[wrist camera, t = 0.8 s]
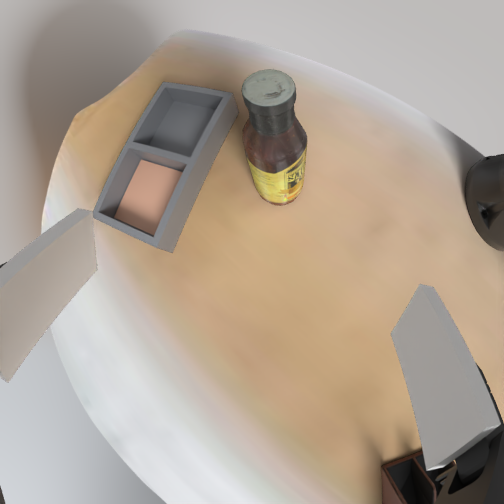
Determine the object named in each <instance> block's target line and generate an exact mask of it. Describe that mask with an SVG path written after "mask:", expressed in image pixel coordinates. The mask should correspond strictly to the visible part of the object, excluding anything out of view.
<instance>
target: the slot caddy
mask: <svg viewBox="0 0 504 504" xmlns="http://www.w3.org/2000/svg"><path fill="white" fill-rule="evenodd" d="M238 113H239V111H238V108H237V105H236V102H235V99H234V95H233V93H229V92H225V91H219V90H214V89H209V88H203V87H197V86H191V85H184V84H177V83H169V82H163V83H162V84H161V86H160V87H159V89H158V90H157V92H156V94H155V95H154V97H153V98H152V100H151V101H150V103H149V105H148V106H147V108H146V109H145V111H144V113H143V114H142V116H141V118H140V119H139V121H138V123H137V124H136V126H135V128H134V130H133V131H132V133H131V135H130V137H129V138H128V140H127V142H126V144H125V146H124V148H123V150H122V151H121V153H120V155H119V157H118V159H117V161H116V163H115V165H114V167H113V169H112V171H111V173H110V175H109V177H108V179H107V181H106V183H105V186H104V188H103V190H102V192H101V194H100V197H99V199H98V201H97V203H96V206H95V208H94V210H93V218H95V219H97V220H99V221H101V222H103V223H105V224H107V225H109V226H111V227H113V228H115V229H118V230H120V231H122V232H124V233H126V234H128V235H130V236H132V237H134V238H137V239H139V240H141V241H143V242H145V243H147V244H150V245H152V246H154V247H156V248H159V249H162V250H165V251H168V252H171V253H173V251H174V248H175V246H176V243H177V241H178V239H179V236H180V234H181V232H182V229H183V227H184V225H185V223H186V220H187V218H188V216H189V213H190V211H191V209H192V207H193V205H194V202H195V200H196V198H197V196H198V194H199V191H200V189H201V187H202V185H203V183H204V181H205V179H206V177H207V174H208V172H209V170H210V168H211V166H212V164H213V162H214V160H215V158H216V156H217V154H218V152H219V150H220V148H221V146H222V144H223V142H224V140H225V138H226V136H227V134H228V132H229V130H230V128H231V126H232V125H233V123H234V121H235V119H236V117H237V115H238Z"/></svg>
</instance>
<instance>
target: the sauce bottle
mask: <svg viewBox="0 0 504 504" xmlns="http://www.w3.org/2000/svg"><path fill="white" fill-rule="evenodd" d="M242 95H243V100H244V102H245V105H246V107H247V108H248V110H249V119H248V120H247V122H246V124H245V126H244V128H243V143H244V146H245V153H246V157H247V160H248V163H249V166H250V170H251V173H252V176H253V180H254V183H255V186H256V189H257V191H258V193H259V194H260V196H261V197H262V198H263V199H264V200H265V201H267V202H269V203H271V204H274V205H286V204H288V203H291V202H292V201H294V200H295V199H296V197H297V196H298V195H299V194H300V191H301V189H302V187H303V182H304V172H305V161H306V150H307V135H306V132H305V131H304V129H303V128H302V126H301V124H300V123H299V121H298V120H297V118H296V116H295V112H294V103H295V100H296V88H295V84H294V81H293V80H292V78H291V77H289V76H288V75H287V74H285V73H283V72H281V71H277V70H262V71H258V72H256V73H253V74H252V75H250V76H249V77H248V78H247V79H246V80H245V81H244V83H243V86H242Z"/></svg>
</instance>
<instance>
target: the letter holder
mask: <svg viewBox="0 0 504 504" xmlns="http://www.w3.org/2000/svg"><path fill="white" fill-rule="evenodd" d="M455 465H456V464H455V462H454V461H452V462H450V463H449V464H447V465H445V466H444V467H442V468H437V469H432V470H427V471H426V465H425V460H424V455H423V450H422V451H420V452H417V453H415V454H412V455H410V456H407V457H405V458H402V459H399V460H396V461H394V462H391V463H388V464H385V465H383V466H382V467H381V472H382V496H383V504H434V503H435V501H436V499H437V497H438V495H439V493H440V491H441V489H442V487H443V485H442V484H440V482H441V481H443V480H444V479H446V478H447V476H446V477H444V478H442V479H440V480H439V481H435V479H436V478H437V477H438V476H439V475H440V474H442V473H444V472H445V471H447V470H449V469H450V468H452V467H453V466H455Z"/></svg>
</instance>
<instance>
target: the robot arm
mask: <svg viewBox="0 0 504 504" xmlns="http://www.w3.org/2000/svg"><path fill="white" fill-rule="evenodd" d="M465 194H466V202H467V207H468V211H469V214H470V217H471V219H472V222H473V224H474V226H475V228H476V230H477V231H478V233H479V234H480V236H481V237H482V238H483V239H484V241H485V242H486V243H487V244H489V245H490V246H491V247H493V248H495V249H497V250H500V251H504V154H501V155H496V156H488V157H485V158H483V159H481V160H480V161H479V162H477V163H476V164H475V165H474V166H473V167H472V168H471V169H470V171H469V173H468V176H467V180H466V187H465ZM97 270H98V269H97V260H96V250H95V239H94V224H93V211H88V210H84V209H79V208H78V209H77V210H75V211H74V212H72V213H71V214H69V215H68V216H66V217H65V218H64V219H62V220H61V221H59V222H58V223H57V224H55V225H54V226H52V227H51V228H50V229H48V230H47V231H46V232H44V233H43V234H42V235H40V236H39V237H38V238H36V239H35V240H34V241H33V242H32V243H30V244H29V245H28V246H26V247H25V248H24V249H23V250H21V251H20V252H19V253H18V254H16V255H15V256H14V257H13V258H12V259H10V260H9V261H8V262H6V263H4V264H2V265H0V378H2V379H3V380H5V381H6V382H7V383H9V381H10V380H11V378H12V377H13V375H14V374H15V372H16V371H17V370H18V368H19V367H20V365H21V364H22V362H23V361H24V360H25V358H26V357H27V355H28V354H29V353H30V351H31V350H32V348H33V347H34V346H35V345H36V343H37V342H38V341H39V339H40V338H41V337H42V335H43V334H44V333H45V331H46V330H47V329H48V328H49V326H50V325H51V324H52V322H53V321H54V320H55V319H56V317H57V316H58V315H59V314H60V313H61V311H62V310H63V309H64V308H65V306H66V305H67V304H68V303H69V302H70V300H71V299H72V298H73V297H74V296H75V295H76V293H77V292H78V291H79V290H80V289H81V288H82V286H83V285H84V284H85V283H86V282H87V281H88V280H89V279H90V277H91V276H92V275H93V274H94V273H95V272H96V271H97ZM391 336H392V339H393V342H394V345H395V348H396V352H397V355H398V358H399V361H400V364H401V367H402V371H403V374H404V378H405V381H406V384H407V388H408V392H409V395H410V399H411V403H412V407H413V410H414V414H415V418H416V423H417V427H418V431H419V436H420V440H421V445H422V450H423V455H424V460H425V465H426V471H427V470H432V469H437V468H442V467H444V466H445V465H447V464H449V463H450V462H452V461H453V460H455V461H456V465H455V466H453V467H452V468H450V469H449V470H447V471H445V472H444V473H442V474H440V475H439V476H438V477H437V478H436V479H435V481H439V480H440V479H442V478H444V477H446V476H447V478H446V479H444V480H443V481H441V482H440V484H442V485H443V487H442V489H441V491H440V493H439V495H438V497H437V499H436V501H435V503H434V504H504V423H503V420H502V417H501V415H500V412H499V410H498V407H497V405H496V402H495V400H494V397H493V395H492V393H490V392H491V390H490V388H489V385H488V384H487V381H486V379H485V376H484V374H483V372H482V370H481V369H480V368H479V366H478V365H477V364H476V363H475V361H474V359H473V357H472V355H471V353H470V351H469V349H468V347H467V345H466V343H465V341H464V339H463V337H462V335H461V334H460V332H459V330H458V328H457V326H456V324H455V323H454V321H453V319H452V317H451V315H450V314H449V312H448V310H447V309H446V307H445V305H444V303H443V302H442V300H441V298H440V297H439V295H438V293H437V292H436V290H435V289H434V287H431V286H427V285H423V284H419V286H418V288H417V290H416V292H415V293H414V295H413V297H412V299H411V301H410V302H409V304H408V306H407V307H406V309H405V311H404V313H403V314H402V316H401V318H400V319H399V321H398V323H397V324H396V326H395V327H394V329H393V331H392V332H391ZM0 504H5V501H4V497H3V494H2V490H1V487H0Z"/></svg>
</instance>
